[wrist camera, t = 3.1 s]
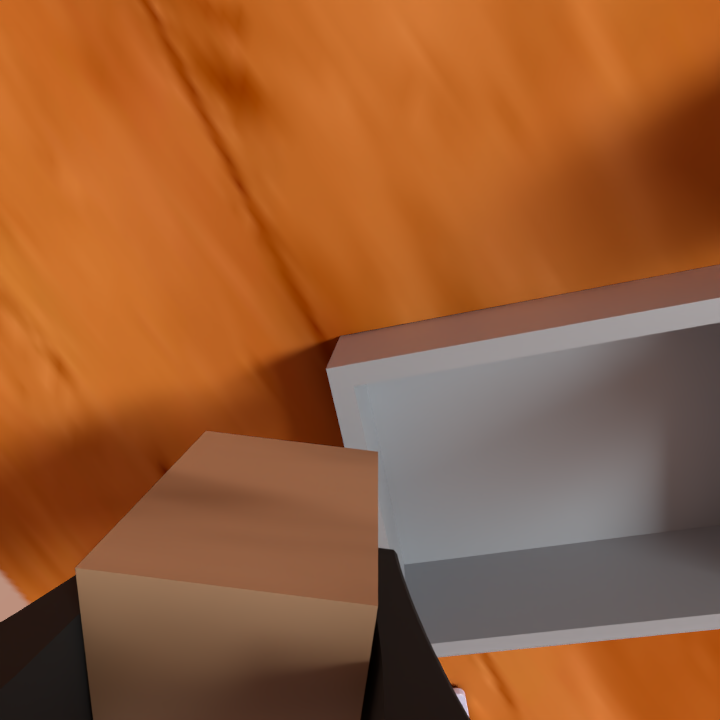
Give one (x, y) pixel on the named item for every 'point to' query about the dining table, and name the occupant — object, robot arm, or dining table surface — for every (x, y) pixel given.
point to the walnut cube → (237, 587)
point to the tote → (548, 462)
